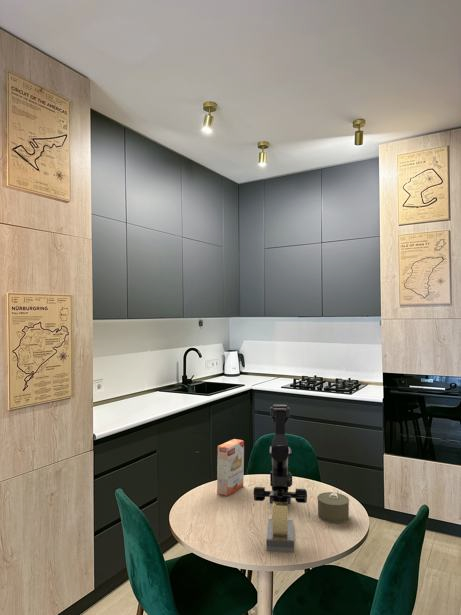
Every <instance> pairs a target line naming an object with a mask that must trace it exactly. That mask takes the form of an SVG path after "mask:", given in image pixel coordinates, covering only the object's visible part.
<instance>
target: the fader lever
mask: <svg viewBox="0 0 461 615" xmlns="http://www.w3.org/2000/svg"><path fill="white" fill-rule="evenodd" d="M288 515H289V514H288V505H287V502H274V501H273V504H272V519H273V533H271V539H281V540H289V533H288V520H289V519H288V518H289V516H288Z"/></svg>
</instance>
